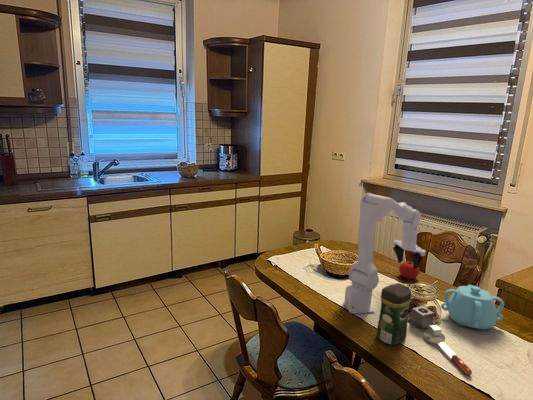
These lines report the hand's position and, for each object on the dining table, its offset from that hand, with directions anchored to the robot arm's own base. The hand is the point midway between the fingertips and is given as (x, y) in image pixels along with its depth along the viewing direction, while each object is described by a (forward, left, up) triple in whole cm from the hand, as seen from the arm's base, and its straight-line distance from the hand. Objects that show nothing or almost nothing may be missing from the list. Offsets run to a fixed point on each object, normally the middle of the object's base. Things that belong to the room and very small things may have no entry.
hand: (407, 265), depth 156 cm
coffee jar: (-24, -35, -11) cm, 43 cm away
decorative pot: (+11, -27, -11) cm, 31 cm away
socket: (-9, -29, -10) cm, 32 cm away
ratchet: (-9, -44, -10) cm, 46 cm away
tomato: (+7, +10, -11) cm, 16 cm away
